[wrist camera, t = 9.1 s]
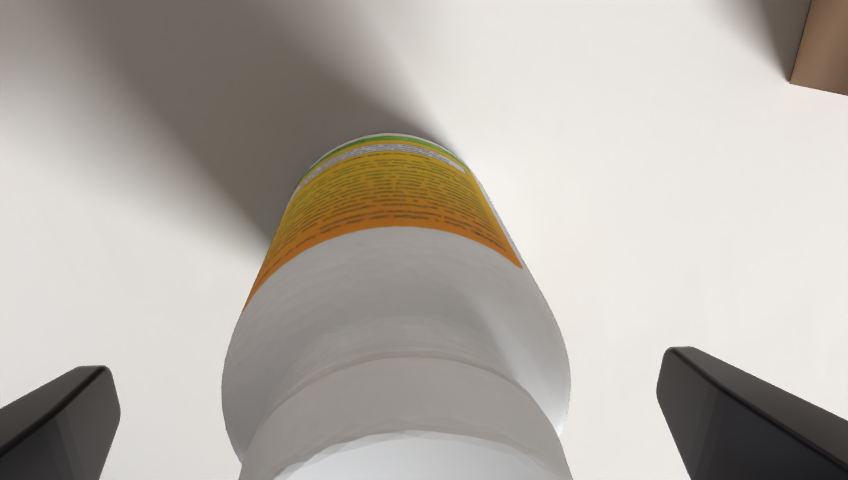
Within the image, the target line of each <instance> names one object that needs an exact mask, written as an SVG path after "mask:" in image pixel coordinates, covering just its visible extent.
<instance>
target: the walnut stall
mask: <svg viewBox="0 0 848 480" xmlns="http://www.w3.org/2000/svg"><path fill="white" fill-rule="evenodd" d="M790 84H794V85H799V86H803V87H808V88H813V89H818V90H823V91H828V92H832V93H837V94H842V95H847V96H848V0H812V2H811V6H810V10H809V13H808V17H807V21H806V25H805V28H804V32H803V36H802V39H801V43H800V47H799V51H798V54H797V58H796V62H795V66H794V69H793V73H792V77H791V81H790Z"/></svg>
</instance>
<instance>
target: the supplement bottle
mask: <svg viewBox="0 0 848 480" xmlns="http://www.w3.org/2000/svg"><path fill="white" fill-rule="evenodd" d="M221 388H222V409H223V415H224V420H225V426H226V430H227V433H228V436H229V439H230V441H231V444H232V446H233V449H234V451H235V453H236V455H237V457H238V459H239V461H240V462H241V464H242V469H241V472H240V476H239V480H573V478H572V476H571V473H570V470H569V467H568V464H567V462H566V459H565V455H564V452H563V448H562V445H561V443H560V440H559V437H560V435H561V432H562V429H563V427H564V424H565V421H566V417H567V414H568V407H569V401H570V388H571V379H570V366H569V360H568V355H567V351H566V347H565V344H564V341H563V337H562V334H561V331H560V329H559V326H558V324H557V322H556V320H555V318H554V315H553V313H552V311H551V309H550V307H549V305H548V303H547V302H546V300H545V298H544V296H543V294H542V292H541V291H540V289H539V287H538V285H537V284H536V282H535V280H534V278H533V276H532V275H531V273H530V271H529V269H528V268H527V266H526V264H525V262H524V260H523V259H522V257H521V255H520V253H519V251H518V250H517V248H516V246H515V244H514V242H513V241H512V239H511V237H510V235H509V233H508V231H507V230H506V228H505V226H504V224H503V222H502V220H501V219H500V217H499V215H498V213H497V211H496V209H495V208H494V206H493V204H492V202H491V200H490V198H489V197H488V195H487V193H486V191H485V189H484V188H483V186H482V185H481V183H480V182H479V180H478V179H477V177H476V176H475V175H474V173H473V172H472V171H471V170H470V168H469V167H468V166H467V165H466V164H465V163H464V162H463V161H462V160H460V159H459V158H458V157H457V156H455V155H454V154H453V153H451V152H450V151H448V150H447V149H445V148H443V147H442V146H440V145H438V144H436V143H433V142H431V141H429V140H426V139H423V138H419V137H416V136H412V135H406V134H398V133H380V134H373V135H367V136H363V137H359V138H356V139H353V140H350V141H348V142H345V143H343V144H341V145H339V146H337V147H335V148H334V149H332V150H330V151H329V152H327V153H326V154H324V155H323V156H322V157H321V158H319V159H318V160H317V161H316V162H315V163H314V164H313V165H312V166H311V167H310V168H309V169H308V170H307V172H306V173H305V174H304V176H303V177H302V178H301V180H300V181H299V183H298V185H297V186H296V188H295V190H294V192H293V193H292V195H291V197H290V200H289V202H288V204H287V207H286V209H285V212H284V214H283V217H282V219H281V222H280V224H279V226H278V229H277V231H276V233H275V235H274V238H273V240H272V243H271V245H270V247H269V250H268V252H267V255H266V257H265V260H264V262H263V264H262V266H261V269H260V271H259V273H258V275H257V278H256V280H255V282H254V285H253V287H252V289H251V292H250V294H249V296H248V299H247V301H246V303H245V306H244V308H243V310H242V313H241V315H240V317H239V319H238V322H237V324H236V327H235V329H234V332H233V335H232V338H231V341H230V344H229V347H228V351H227V355H226V358H225V364H224V369H223V375H222V386H221Z"/></svg>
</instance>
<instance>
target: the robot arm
mask: <svg viewBox="0 0 848 480" xmlns="http://www.w3.org/2000/svg"><path fill="white" fill-rule="evenodd" d="M656 393H657V399H658V402H659V405H660V407H661V410H662V412H663V415H664V417H665V419H666V422H667V424H668V427H669V429H670V431H671V434H672V436H673V439H674V441H675V443H676V446H677V448H678V451H679V453H680V455H681V458H682V460H683V462H684V465H685V467H686V470H687V472H688V474H689V476H690V478H691V480H848V421H847V420H845V419H843V418H841V417H839V416H837V415H835V414H833V413H831V412H828V411H826V410H824V409H822V408H820V407H818V406H816V405H814V404H812V403H810V402H807V401H805V400H803V399H801V398H799V397H797V396H795V395H793V394H791V393H789V392H787V391H784V390H782V389H780V388H778V387H776V386H774V385H772V384H770V383H768V382H766V381H764V380H761V379H759V378H757V377H755V376H753V375H751V374H749V373H747V372H745V371H743V370H741V369H738V368H736V367H734V366H732V365H730V364H728V363H726V362H724V361H722V360H720V359H718V358H715V357H713V356H711V355H709V354H707V353H705V352H703V351H701V350H699V349H697V348H694V347H690V346H688V347H670V348H668V349H667V350H666V351H665V353H664V356H663V360H662V364H661V369H660V373H659V378H658V382H657V388H656ZM119 421H120V405H119V401H118V396H117V392H116V388H115V384H114V380H113V376H112V373H111V371H110V369H109V368H108V367H106V366H104V365H99V366H79V367H76V368H74V369H73V370H71V371H69V372H67V373H65V374H63V375H61V376H60V377H58V378H56V379H54V380H52V381H50V382H49V383H47V384H45V385H43V386H41V387H39V388H38V389H36V390H34V391H32V392H30V393H28V394H27V395H25V396H23V397H21V398H19V399H17V400H15V401H14V402H12V403H10V404H8V405H6V406H4V407H3V408H1V409H0V480H99V478H100V475H101V472H102V470H103V467H104V464H105V461H106V458H107V456H108V453H109V450H110V447H111V444H112V442H113V439H114V436H115V433H116V430H117V428H118V425H119Z"/></svg>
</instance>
